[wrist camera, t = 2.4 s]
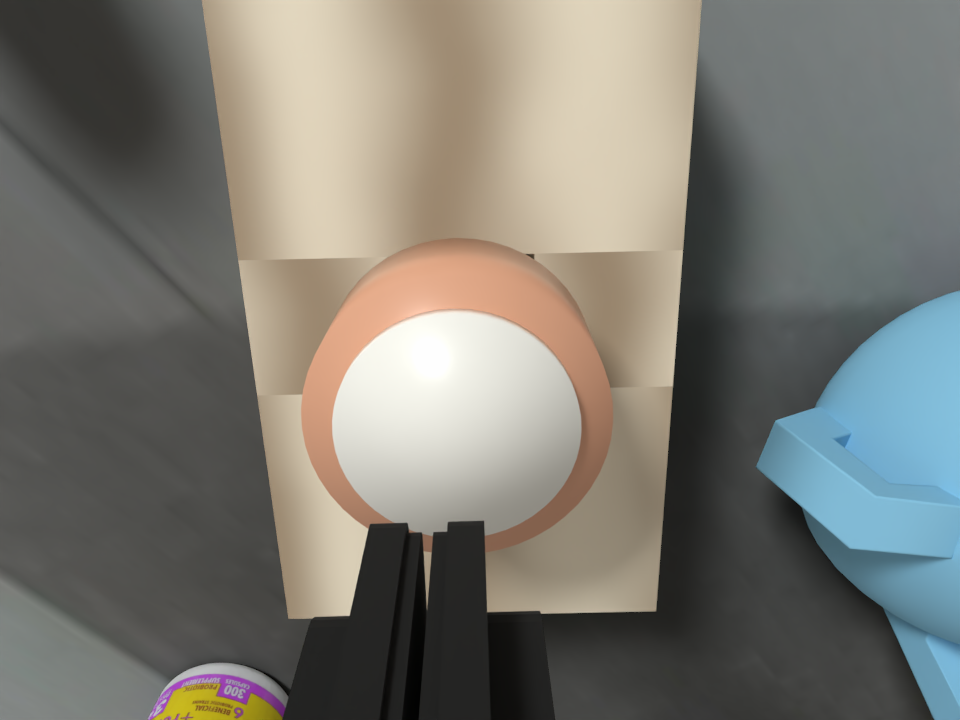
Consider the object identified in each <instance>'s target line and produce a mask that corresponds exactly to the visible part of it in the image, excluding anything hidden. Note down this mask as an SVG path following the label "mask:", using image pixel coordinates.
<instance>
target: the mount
mask: <svg viewBox="0 0 960 720" xmlns="http://www.w3.org/2000/svg"><path fill="white" fill-rule="evenodd" d="M701 3H702V0H202V4H203V11H204V18H205V26H206V33H207V40H208V47H209V54H210V61H211V68H212V76H213V83H214V90H215V97H216V104H217V111H218V118H219V125H220V133H221V140H222V147H223V154H224V161H225V168H226V175H227V183H228V190H229V197H230V204H231V211H232V218H233V225H234V232H235V240H236V247H237V254H238V261H239V268H240V275H241V282H242V290H243V297H244V304H245V311H246V318H247V325H248V332H249V339H250V347H251V354H252V361H253V368H254V375H255V382H256V389H257V397H258V404H259V411H260V418H261V425H262V432H263V439H264V446H265V454H266V461H267V468H268V475H269V482H270V489H271V496H272V504H273V511H274V518H275V525H276V532H277V539H278V546H279V554H280V561H281V568H282V575H283V582H284V589H285V596H286V603H287V611H288V618H289V619H302V618H314V617H326V616H350V612H351V607H352V602H353V598H354V593H355V589H356V584H357V579H358V575H359V570H360V566H361V561H362V557H363V552H364V547H365V543H366V538H367V534H368V528H366V527H365V526H363V525H362V524H360V523H359V522H357V521H356V520H355V519H354V518H353V517H351V516H350V515H349V514H348V513H347V512H346V511H345V510H343V509H342V508H341V506H340V505H339V504H338V503H337V502H336V501H335V500H334V499H333V498H332V496H331V495H330V494H329V493H328V491H327V490H326V488H325V487H324V485H323V484H322V482H321V481H320V479H319V477H318V475H317V474H316V472H315V470H314V468H313V466H312V464H311V461H310V458H309V455H308V452H307V449H306V446H305V442H304V436H303V431H302V421H301V404H302V394H303V388H304V384H305V380H306V376H307V372H308V370H309V368H310V365H311V363H312V360H313V358H314V356H315V354H316V352H317V350H318V348H319V346H320V344H321V342H322V340H323V339H324V337H325V335H326V333H327V331H328V329H329V327H330V325H331V324H332V322H333V320H334V318H335V316H336V314H337V312H338V310H339V309H340V307H341V305H342V303H343V302H344V300H345V298H346V297H347V295H348V294H349V292H350V291H351V290H352V289H353V287H354V286H355V285H356V284H357V282H358V281H359V280H360V279H361V278H362V277H363V276H364V275H365V274H366V273H368V272H369V271H370V270H371V269H372V268H373V267H375V266H376V265H377V264H379V263H380V262H382V261H383V260H384V259H386V258H388V257H390V256H391V255H393V254H395V253H397V252H399V251H401V250H403V249H406V248H409V247H411V246H414V245H417V244H420V243H424V242H429V241H433V240H439V239H450V238H468V239H479V240H484V241H490V242H494V243H498V244H501V245H504V246H507V247H510V248H513V249H515V250H517V251H519V252H521V253H523V254H526V255H528V256H529V257H531V258H532V259H534V260H535V261H537V262H539V263H540V264H542V265H543V266H544V267H545V268H547V269H548V270H549V271H550V272H551V273H553V274H554V275H555V276H556V277H557V278H558V279H559V280H560V281H561V283H562V284H563V285H564V286H565V287H566V288H567V289H568V291H569V292H570V294H571V295H572V297H573V298H574V299H575V301H576V302H577V304H578V306H579V308H580V310H581V312H582V314H583V316H584V318H585V321H586V323H587V326H588V328H589V331H590V333H591V336H592V338H593V341H594V343H595V346H596V348H597V351H598V353H599V356H600V358H601V361H602V363H603V366H604V369H605V372H606V375H607V378H608V381H609V384H610V390H611V396H612V401H613V427H612V436H611V441H610V445H609V449H608V453H607V457H606V459H605V461H604V464H603V466H602V468H601V471H600V473H599V475H598V477H597V478H596V480H595V482H594V483H593V485H592V487H591V488H590V490H589V491H588V492H587V494H586V495H585V496H584V497H583V499H582V500H581V501H580V502H579V504H578V505H577V506H576V507H575V508H574V509H573V510H572V511H570V512H569V513H568V514H567V515H566V516H565V517H564V518H563V519H561V520H560V521H559V522H557V523H556V524H555V525H553V526H552V527H551V528H549V529H547V530H546V531H544V532H542V533H541V534H539V535H537V536H535V537H533V538H531V539H529V540H526V541H524V542H522V543H520V544H517V545H514V546H511V547H507V548H504V549H501V550H496V551H491V552H486V553H485V560H486V590H487V612H512V611H540V612H541V614H547V613H596V612H645V611H656V606H657V592H658V579H659V565H660V552H661V539H662V525H663V512H664V498H665V485H666V472H667V458H668V445H669V431H670V418H671V405H672V391H673V378H674V365H675V351H676V338H677V324H678V311H679V298H680V284H681V271H682V257H683V244H684V231H685V217H686V204H687V191H688V177H689V164H690V150H691V137H692V124H693V110H694V97H695V83H696V70H697V57H698V43H699V30H700V17H701ZM431 554H432V552H425V551H424V566H425V584H426V602H427V605H428V592H429V580H430V567H431Z"/></svg>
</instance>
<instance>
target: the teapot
mask: <svg viewBox="0 0 960 720" xmlns="http://www.w3.org/2000/svg"><path fill="white" fill-rule="evenodd" d="M756 468H757V469H758V470H759V471H761V472H762V473H763V474H764V475H765V476H766V477H767V478H769V479H770V480H771V481H772V482H773V483H774V484H776V485H777V486H778V487H779V488H780V489H781V490H782V491H784V492H785V493H786V494H787V495H788V496H789V497H791V498H792V499H793V500H794V501H795V502H796V503H797V504H799V505H800V506H801V507H802V510H803V513H804V516H805V519H806V522H807V525H808V527H809V529H810V531H811V533H812V535H813V537H814V538H815V540H816V542H817V544H818V545H819V546H820V548H821V549H822V550H823V551H824V553H825V554H826V555H827V557H828V558H829V559H830V561H831V562H832V563H833V564H834V566H835V567H836V568H837V569H838V570H839V571H840V572H841V573H842V574H843V575H844V576H845V577H846V578H847V579H848V580H849V581H850V582H851V583H853V584H854V585H855V586H856V587H857V588H858V589H859V590H860V591H862V592H863V593H864V594H865V595H867V596H868V597H869V598H871V599H872V600H873V601H875V602H876V603H877V604H879V605H880V606H882V607H883V609H884V611H885V613H886V615H887V618H888V620H889V622H890V624H891V626H892V629H893V631H894V633H895V635H896V637H897V640H898V642H899V644H900V646H901V648H902V651H903V653H904V655H905V657H906V659H907V662H908V664H909V666H910V668H911V670H912V673H913V675H914V677H915V679H916V681H917V684H918V686H919V688H920V690H921V692H922V695H923V697H924V699H925V701H926V703H927V706H928V708H929V710H930V712H931V714H932V717H933V719H934V720H960V291H956V292H952V293H949V294H946V295H943V296H941V297H938V298H936V299H933V300H931V301H928V302H925V303H923V304H921V305H919V306H917V307H916V308H914V309H912V310H910V311H908V312H906V313H904V314H902V315H900V316H899V317H897V318H896V319H894V320H893V321H891V322H890V323H888V324H887V325H885V326H884V327H882V328H881V329H880V330H878V331H877V332H876V333H875V334H874V335H872V336H871V337H870V338H869V339H867V340H866V341H865V342H864V343H863V344H861V345H860V346H859V347H858V349H857V350H856V351H855V352H854V353H853V354H852V355H851V356H850V357H849V358H848V359H847V360H846V361H845V362H844V363H843V364H842V366H841V367H840V368H839V370H838V371H837V372H836V373H835V375H834V376H833V377H832V379H831V380H830V381H829V383H828V384H827V386H826V388H825V390H824V391H823V393H822V395H821V396H820V398H819V400H818V401H817V403H816V406H815V408H813V409H810V410H807V411H803V412H800V413H797V414H794V415H791V416H788V417H785V418H782V419H778V420H776V421H775V423H774V425H773V428H772V430H771V432H770V435H769V437H768V440H767V442H766V444H765V447H764V449H763V451H762V454H761V456H760V459H759V461H758V463H757V466H756Z"/></svg>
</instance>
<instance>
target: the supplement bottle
mask: <svg viewBox="0 0 960 720" xmlns="http://www.w3.org/2000/svg"><path fill="white" fill-rule="evenodd" d="M287 701H288V696H287V694H286V693H285V691H284V690H283V689H282V688H281V687H280V686H279V685H278V684H277V683H276V682H275V681H274V680H272V679H271V678H270V677H268V676H267V675H265V674H263V673H262V672H260V671H257V670H255V669H253V668H250V667H247V666H244V665H239V664H233V663H210V664H204V665H200V666H197V667H194V668H191V669H189V670H187V671H185V672H183V673H181V674H180V675H178V676H177V677H175V678H174V679H173V680H172V681H171V682H170V683H169V684H168V685H167V686H166V687H165V689H164V690H163V692H162V693H161V695H160V697H159V699H158V701H157V702H156V704H155V706H154V708H153V710H152V712H151V714H150V716H149V718H148V720H282V718H283V715H284V711H285V708H286V704H287Z"/></svg>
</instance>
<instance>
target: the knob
mask: <svg viewBox="0 0 960 720" xmlns="http://www.w3.org/2000/svg"><path fill="white" fill-rule="evenodd" d="M301 421H302V431H303V436H304V442H305V446H306V449H307V452H308V455H309V458H310V461H311V464H312V466H313V468H314V470H315V472H316V474H317V475H318V477H319V479H320V481H321V482H322V484H323V485H324V487H325V488H326V490H327V491H328V493H329V494H330V495H331V496H332V498H333V499H334V500H335V501H336V502H337V503H338V504H339V505H340V506H341V508H342V509H343V510H345V511H346V512H347V513H348V514H349V515H350V516H351V517H353V518H354V519H355V520H356V521H357V522H359V523H360V524H362V525H363V526H365V527H366V528H368V529H369V526H370V524H377V523H408V527H409V533H413V532H422V535H423V549H424V551H425V552H432V541H433V532H447V525H448V522H452V521H484V529H485V553H486V552H491V551H496V550H501V549H504V548H507V547H511V546H514V545H517V544H520V543H522V542H524V541H526V540H529V539H531V538H533V537H535V536H537V535H539V534H541V533H542V532H544V531H546V530H547V529H549V528H551V527H552V526H553V525H555V524H556V523H557V522H559V521H560V520H561V519H563V518H564V517H565V516H566V515H567V514H568V513H569V512H570V511H572V510H573V509H574V508H575V507H576V506H577V505H578V504H579V502H580V501H581V500H582V499H583V497H584V496H585V495H586V494H587V492H588V491H589V490H590V488H591V487H592V485H593V483H594V482H595V480H596V478H597V477H598V475H599V473H600V471H601V468H602V466H603V464H604V461H605V459H606V457H607V453H608V449H609V445H610V441H611V436H612V427H613V401H612V396H611V390H610V384H609V381H608V378H607V375H606V372H605V369H604V366H603V363H602V361H601V358H600V356H599V353H598V351H597V348H596V346H595V343H594V341H593V338H592V336H591V333H590V331H589V328H588V326H587V323H586V321H585V318H584V316H583V314H582V312H581V310H580V308H579V306H578V304H577V302H576V301H575V299H574V298H573V297H572V295H571V294H570V292H569V291H568V289H567V288H566V287H565V286H564V285H563V284H562V283H561V281H560V280H559V279H558V278H557V277H556V276H555V275H554V274H553V273H551V272H550V271H549V270H548V269H547V268H545V267H544V266H543V265H542V264H540V263H539V262H537V261H535V260H534V259H532V258H531V257H529V256H528V255H526V254H523V253H521V252H519V251H517V250H515V249H513V248H510V247H507V246H504V245H501V244H498V243H494V242H490V241H484V240H479V239H468V238H450V239H439V240H433V241H429V242H424V243H420V244H417V245H414V246H411V247H409V248H406V249H403V250H401V251H399V252H397V253H395V254H393V255H391V256H390V257H388V258H386V259H384V260H383V261H382V262H380V263H379V264H377V265H376V266H375V267H373V268H372V269H371V270H370V271H369V272H368V273H366V274H365V275H364V276H363V277H362V278H361V279H360V280H359V281H358V282H357V284H356V285H355V286H354V287H353V289H352V290H351V291H350V292H349V294H348V295H347V297H346V298H345V300H344V302H343V303H342V305H341V307H340V309H339V310H338V312H337V314H336V316H335V318H334V320H333V322H332V324H331V325H330V327H329V329H328V331H327V333H326V335H325V337H324V339H323V340H322V342H321V344H320V346H319V348H318V350H317V352H316V354H315V356H314V358H313V360H312V363H311V365H310V368H309V370H308V372H307V376H306V380H305V384H304V388H303V394H302V404H301Z"/></svg>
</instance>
